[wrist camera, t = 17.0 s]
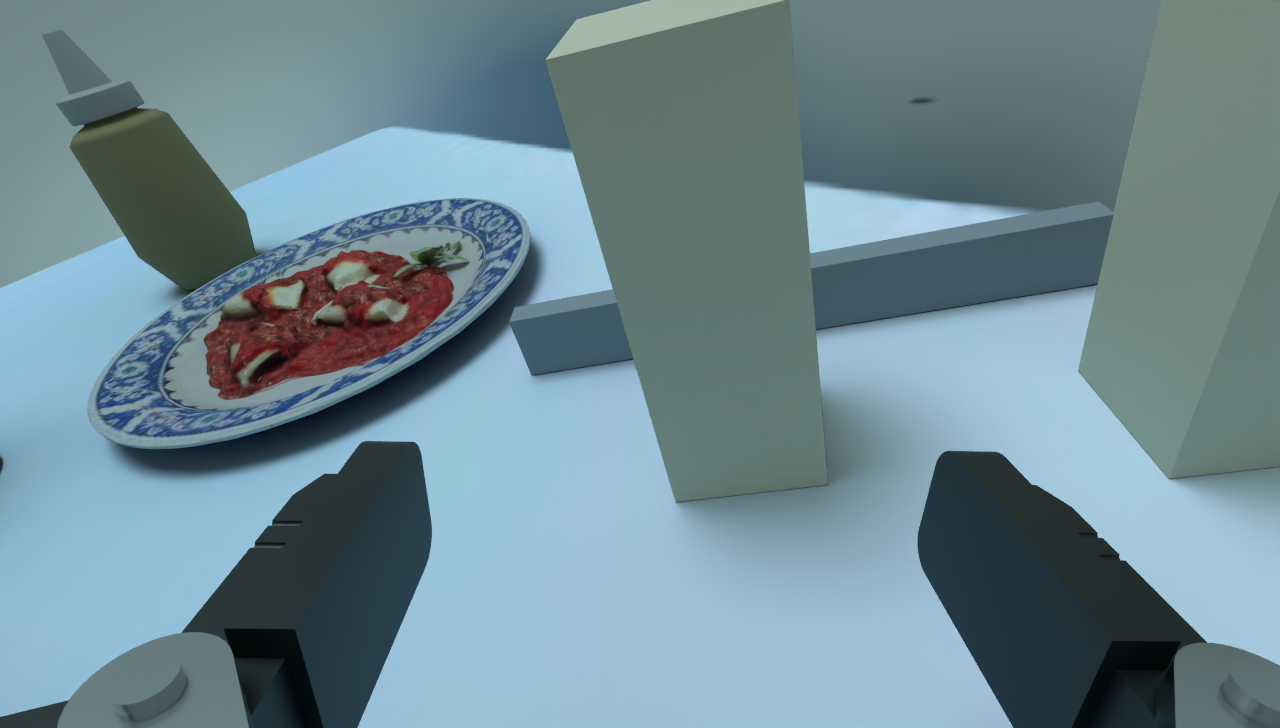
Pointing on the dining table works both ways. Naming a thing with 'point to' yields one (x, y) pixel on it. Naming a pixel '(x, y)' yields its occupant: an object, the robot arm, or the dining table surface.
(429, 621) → the dining table surface
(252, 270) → the ceramic plate
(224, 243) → the squeeze bottle
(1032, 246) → the rail
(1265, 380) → the faced carton
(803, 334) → the carton
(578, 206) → the dining table surface
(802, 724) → the dining table surface
